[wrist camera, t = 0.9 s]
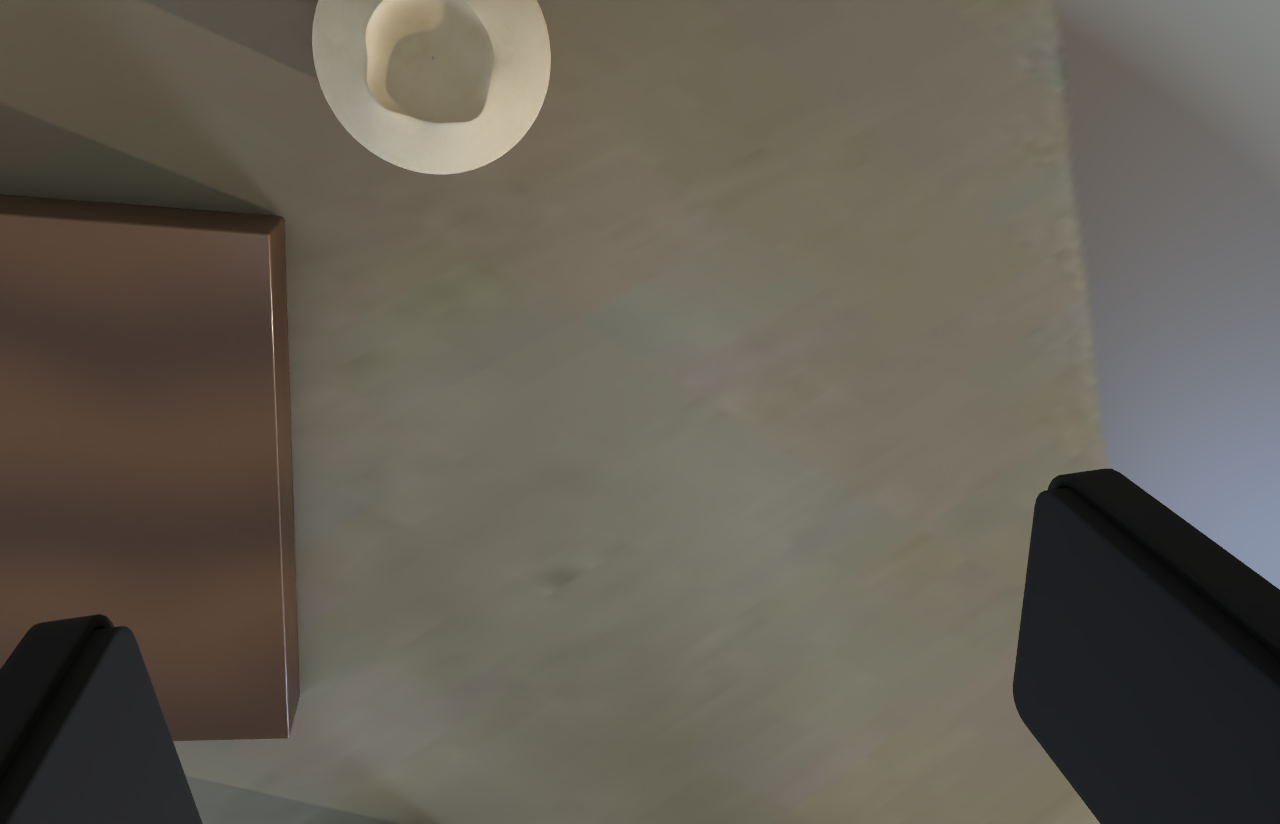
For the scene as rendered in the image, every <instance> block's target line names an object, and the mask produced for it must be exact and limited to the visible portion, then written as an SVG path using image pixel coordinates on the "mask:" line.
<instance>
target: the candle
mask: <svg viewBox="0 0 1280 824" xmlns="http://www.w3.org/2000/svg"><path fill="white" fill-rule="evenodd" d="M312 47H313V58H314V64H315V69H316V73H317V77H318V80H319V83H320V86H321V89H322V91H323V93H324V95H325V98H326V100H327V102H328V104H329V106H330V107H331V109H332V110H333V112H334V114H335V115H336V117H337V118H338V120H339V121H340V122H341V124H342V125H343V126H344V127H345V129H346V130H347V131H348V132H349V133H350V134H351V135H352V136H353V137H354V138H355V139H356V140H357V141H358V142H359V143H360V144H362V145H363V146H364V147H365V148H367V149H368V150H369V151H371V152H372V153H374V154H375V155H377V156H379V157H380V158H382V159H384V160H385V161H388V162H390V163H392V164H394V165H396V166H399V167H402V168H405V169H408V170H411V171H416V172H421V173H427V174H454V173H461V172H465V171H470V170H473V169H476V168H479V167H482V166H484V165H487V164H488V163H490V162H492V161H494V160H496V159H498V158H499V157H501V156H502V155H504V154H505V153H506V152H508V151H509V150H510V149H511V148H512V147H514V146H515V145H516V144H517V143H518V142H519V141H520V140H521V139H522V137H523V136H524V135H525V134H526V132H527V131H528V130H529V129H530V127H531V126H532V124H533V122H534V121H535V119H536V117H537V116H538V113H539V111H540V109H541V106H542V104H543V102H544V98H545V95H546V92H547V88H548V83H549V77H550V65H551V53H550V41H549V36H548V31H547V26H546V23H545V20H544V17H543V14H542V11H541V8H540V6H539V4H538V2H537V0H319V1H318V3H317V6H316V11H315V16H314V21H313V33H312Z"/></svg>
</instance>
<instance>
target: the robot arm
mask: <svg viewBox="0 0 1280 824" xmlns="http://www.w3.org/2000/svg"><path fill="white" fill-rule="evenodd" d="M1013 696H1014V701H1015V705H1016V708H1017V710H1018V713H1019V715H1020V717H1021V719H1022V720H1023V722H1024V723H1025V725H1026V726H1027V727H1028V729H1029V730H1030V731H1031V733H1032V734H1033V735H1034V737H1035V738H1036V739H1037V741H1038V742H1039V743H1040V744H1041V746H1042V747H1043V748H1044V750H1045V751H1046V752H1047V754H1048V755H1049V756H1050V758H1051V759H1052V760H1053V762H1054V763H1055V764H1056V766H1057V767H1058V768H1059V770H1060V771H1061V772H1062V773H1063V775H1064V776H1065V777H1066V779H1067V780H1068V781H1069V783H1070V784H1071V785H1072V787H1073V788H1074V789H1075V791H1076V792H1077V793H1078V795H1079V796H1080V797H1081V798H1082V800H1083V801H1084V802H1085V804H1086V805H1087V806H1088V808H1089V809H1090V810H1091V812H1092V813H1093V814H1094V816H1095V817H1096V818H1097V820H1098V821H1099V822H1100V824H1280V590H1279V589H1278V588H1276V587H1275V586H1274V585H1272V584H1271V583H1270V582H1268V581H1267V580H1265V579H1264V578H1263V577H1262V576H1260V575H1259V574H1257V573H1256V572H1255V571H1253V570H1252V569H1251V568H1249V567H1248V566H1246V565H1245V564H1244V563H1242V562H1241V561H1239V560H1238V559H1237V558H1235V557H1234V556H1233V555H1231V554H1230V553H1229V552H1227V551H1226V550H1225V549H1223V548H1222V547H1220V546H1219V545H1218V544H1216V543H1215V542H1214V541H1212V540H1211V539H1210V538H1208V537H1207V536H1206V535H1204V534H1203V533H1201V532H1200V531H1199V530H1197V529H1196V528H1194V527H1193V526H1192V525H1190V524H1189V523H1187V522H1186V521H1185V520H1184V519H1182V518H1181V517H1179V516H1178V515H1177V514H1175V513H1174V512H1173V511H1171V510H1170V509H1169V508H1167V507H1166V506H1165V505H1163V504H1162V503H1160V502H1159V501H1158V500H1156V499H1155V498H1154V497H1152V496H1151V495H1149V494H1148V493H1147V492H1145V491H1144V490H1143V489H1141V488H1140V487H1139V486H1137V485H1136V484H1135V483H1133V482H1132V481H1130V480H1129V479H1128V478H1126V477H1125V476H1124V475H1122V474H1121V473H1119V472H1117V471H1115V470H1113V469H1099V470H1092V471H1085V472H1078V473H1071V474H1065V475H1059V476H1057V477H1055V478H1054V479H1053V480H1052V481H1051V483H1050V485H1049V487H1048V490H1047V491H1043V492H1041V493H1040V494H1039V495H1038V497H1037V499H1036V503H1035V508H1034V517H1033V525H1032V533H1031V541H1030V549H1029V558H1028V566H1027V574H1026V582H1025V590H1024V599H1023V607H1022V615H1021V623H1020V631H1019V640H1018V648H1017V656H1016V664H1015V673H1014V681H1013ZM0 824H202V821H201V818H200V816H199V813H198V810H197V807H196V805H195V802H194V799H193V796H192V793H191V791H190V788H189V785H188V782H187V780H186V777H185V774H184V771H183V768H182V766H181V763H180V760H179V757H178V755H177V752H176V749H175V746H174V743H173V741H172V738H171V735H170V732H169V730H168V727H167V724H166V721H165V718H164V716H163V713H162V710H161V707H160V704H159V702H158V699H157V696H156V693H155V691H154V688H153V685H152V682H151V679H150V677H149V674H148V671H147V668H146V666H145V663H144V660H143V657H142V654H141V652H140V649H139V646H138V643H137V641H136V638H135V636H134V634H133V632H132V631H131V630H130V629H129V628H128V627H126V626H119V627H114V625H113V623H112V621H111V620H110V619H109V618H108V617H107V616H104V615H101V614H97V615H90V616H83V617H76V618H69V619H62V620H55V621H49V622H42V623H38V624H35V625H33V626H32V627H31V628H30V629H29V630H28V631H27V633H26V634H25V635H24V637H23V638H22V640H21V641H20V642H19V644H18V645H17V647H16V648H15V649H14V651H13V652H12V654H11V655H10V656H9V658H8V659H7V661H6V662H5V663H4V665H3V666H2V668H1V669H0Z"/></svg>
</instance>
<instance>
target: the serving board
mask: <svg viewBox="0 0 1280 824" xmlns="http://www.w3.org/2000/svg"><path fill="white" fill-rule="evenodd" d="M97 614H101V615H104V616H107V617H108V618H109V619H110V620H111V621H112V623H113V625H114V627H119V626H126V627H128V628H129V629H130V630H131V631H132V632H133V634H134V636H135V638H136V641H137V643H138V646H139V649H140V652H141V654H142V657H143V660H144V663H145V666H146V668H147V671H148V674H149V677H150V679H151V682H152V685H153V688H154V691H155V693H156V696H157V699H158V702H159V704H160V707H161V710H162V713H163V716H164V718H165V721H166V724H167V727H168V730H169V732H170V735H171V738H172V741H193V740H232V739H272V738H289V736H290V733H291V729H292V725H293V721H294V717H295V713H296V709H297V705H298V701H299V697H300V690H299V659H298V629H297V598H296V567H295V537H294V506H293V475H292V444H291V414H290V383H289V352H288V322H287V291H286V260H285V230H284V218H283V217H281V216H268V215H255V214H242V213H230V212H217V211H204V210H191V209H178V208H165V207H152V206H139V205H126V204H113V203H100V202H87V201H74V200H61V199H48V198H36V197H23V196H10V195H0V669H1V668H2V666H3V665H4V663H5V662H6V661H7V659H8V658H9V656H10V655H11V654H12V652H13V651H14V649H15V648H16V647H17V645H18V644H19V642H20V641H21V640H22V638H23V637H24V635H25V634H26V633H27V631H28V630H29V629H30V628H31V627H32V626H33V625H35V624H38V623H42V622H49V621H55V620H62V619H69V618H76V617H83V616H90V615H97Z"/></svg>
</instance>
